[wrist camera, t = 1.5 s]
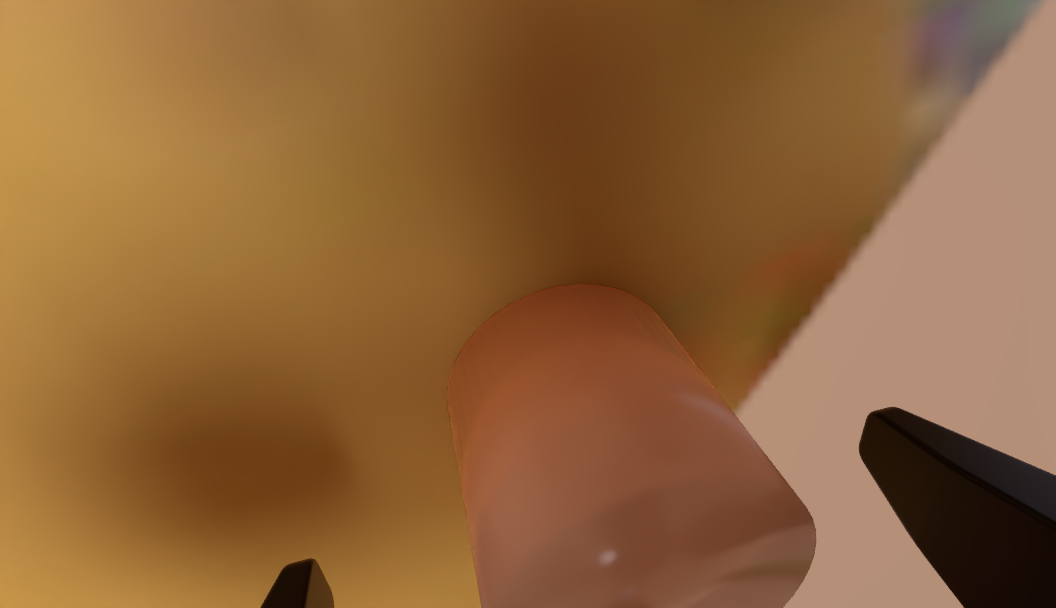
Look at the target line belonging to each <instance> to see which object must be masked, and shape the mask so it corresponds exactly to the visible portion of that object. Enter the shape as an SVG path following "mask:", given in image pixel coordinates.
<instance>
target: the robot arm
mask: <svg viewBox="0 0 1056 608" xmlns="http://www.w3.org/2000/svg"><path fill="white" fill-rule="evenodd" d="M859 453H860V456H861V459H862V461H863V462H864V464H865V466H866V467H867V469H868V470H869V472H870V474H871V475H872V477H873V478H874V480H875V481H876V483H877V485H878V486H879V488H880V489H881V491H882V493H883V494H884V496H885V497H886V499H887V500H888V502H889V504H890V505H891V507H892V508H893V510H894V512H895V513H896V515H897V516H898V518H899V519H900V521H901V523H902V524H903V526H904V527H905V529H906V531H907V532H908V534H909V535H910V536H911V538H912V539H913V541H914V542H915V544H916V545H917V547H918V548H919V549H920V551H921V552H922V553H923V555H924V556H925V557H926V559H927V560H928V561H929V563H930V564H931V565H932V567H933V568H934V569H935V570H936V572H937V573H938V574H939V576H940V577H941V578H942V579H943V581H944V582H945V583H946V585H947V586H948V587H949V589H950V590H951V591H952V592H953V593H954V595H955V596H956V598H957V599H958V600H959V602H960V603H961V604H962V605H963V607H964V608H1056V475H1053V474H1051V473H1049V472H1046V471H1044V470H1042V469H1039V468H1037V467H1035V466H1032V465H1030V464H1028V463H1026V462H1023V461H1021V460H1019V459H1016V458H1014V457H1011V456H1009V455H1007V454H1005V453H1002V452H1000V451H998V450H995V449H993V448H991V447H988V446H986V445H984V444H981V443H979V442H977V441H974V440H972V439H970V438H967V437H965V436H963V435H960V434H958V433H956V432H954V431H951V430H949V429H946V428H944V427H942V426H940V425H937V424H935V423H933V422H930V421H928V420H926V419H923V418H921V417H919V416H916V415H914V414H912V413H909V412H907V411H904V410H902V409H900V408H896V407H888V408H884V409H880V410H876V411H873V412H871V413H870V414H869V415H868V416H867V419H866V422H865V426H864V429H863V433H862V436H861V440H860V443H859ZM260 608H334V601H333V595H332V592H331V589H330V587H329V585H328V583H327V581H326V579H325V577H324V575H323V573H322V571H321V569H320V567H319V565H318V563H317V561H316V560H314V559H312V558H311V559H306V560H302V561H298V562H294V563H291V564H288V565H286V566H285V567H284V568H283V569H282V571H281V572H280V574H279V576H278V578H277V579H276V581H275V583H274V585H273V586H272V588H271V590H270V592H269V593H268V595H267V597H266V599H265V600H264V602H263V604H262V606H261V607H260Z"/></svg>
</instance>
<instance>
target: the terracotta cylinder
mask: <svg viewBox="0 0 1056 608" xmlns="http://www.w3.org/2000/svg"><path fill="white" fill-rule="evenodd" d="M447 404H448V411H449V417H450V423H451V429H452V434H453V440H454V446H455V452H456V458H457V464H458V470H459V476H460V482H461V488H462V494H463V500H464V505H465V511H466V517H467V523H468V529H469V535H470V541H471V547H472V553H473V559H474V565H475V570H476V576H477V582H478V588H479V594H480V600H481V606H482V608H783V607H784V606H785V605H786V603H787V602H788V601H789V600H790V599H791V597H792V596H793V595H794V594H795V592H796V591H797V589H798V588H799V586H800V584H801V583H802V582H803V580H804V578H805V576H806V574H807V572H808V570H809V568H810V565H811V562H812V560H813V557H814V553H815V547H816V529H815V525H814V522H813V519H812V516H811V515H810V513H809V512H808V509H807V508H806V506H805V505H804V504H803V502H802V501H801V500H800V499H799V497H798V496H797V495H796V493H795V492H794V491H793V489H792V488H791V487H790V486H789V484H788V483H787V482H786V480H785V479H784V478H783V476H782V475H781V474H780V473H779V471H778V470H777V469H776V467H775V466H774V465H773V463H772V462H771V461H770V460H769V458H768V457H767V456H766V454H765V453H764V452H763V451H762V450H761V448H760V447H759V445H758V444H757V443H756V441H755V440H754V439H753V438H752V436H751V435H750V434H749V432H748V431H747V430H746V429H745V427H744V426H743V425H742V423H741V422H740V421H739V419H738V418H737V417H736V415H735V414H734V413H733V412H732V410H731V409H730V408H729V406H728V405H727V404H726V402H725V401H724V400H723V399H722V397H721V396H720V395H719V393H718V392H717V391H716V389H715V388H714V387H713V386H712V384H711V383H710V382H709V380H708V379H707V378H706V377H705V375H704V374H703V373H702V371H701V370H700V369H699V367H698V366H697V365H696V364H695V362H694V361H693V360H692V358H691V357H690V356H689V354H688V353H687V352H686V351H685V349H684V348H683V347H682V345H681V344H680V343H679V341H678V340H677V339H676V338H675V336H674V335H673V334H672V332H671V331H670V330H669V329H668V327H667V326H666V325H665V323H664V322H663V321H662V319H661V318H660V317H659V316H658V315H657V313H656V312H655V311H654V310H653V309H652V308H651V307H650V306H649V305H647V304H646V303H645V302H643V301H642V300H641V299H639V298H637V297H635V296H634V295H632V294H630V293H628V292H625V291H622V290H620V289H617V288H613V287H608V286H603V285H594V284H570V285H564V286H557V287H552V288H549V289H545V290H541V291H538V292H535V293H533V294H530V295H528V296H525V297H523V298H521V299H519V300H517V301H515V302H513V303H511V304H509V305H507V306H506V307H504V308H503V309H501V310H500V311H498V312H497V313H495V314H494V315H493V316H491V317H490V318H489V319H488V320H487V321H486V322H484V323H483V324H482V325H481V326H480V327H479V328H478V329H477V330H476V331H475V332H474V334H473V335H472V336H471V337H470V338H469V339H468V341H467V342H466V344H465V345H464V346H463V348H462V349H461V351H460V353H459V355H458V357H457V359H456V361H455V362H454V365H453V368H452V371H451V374H450V377H449V382H448V388H447Z"/></svg>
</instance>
